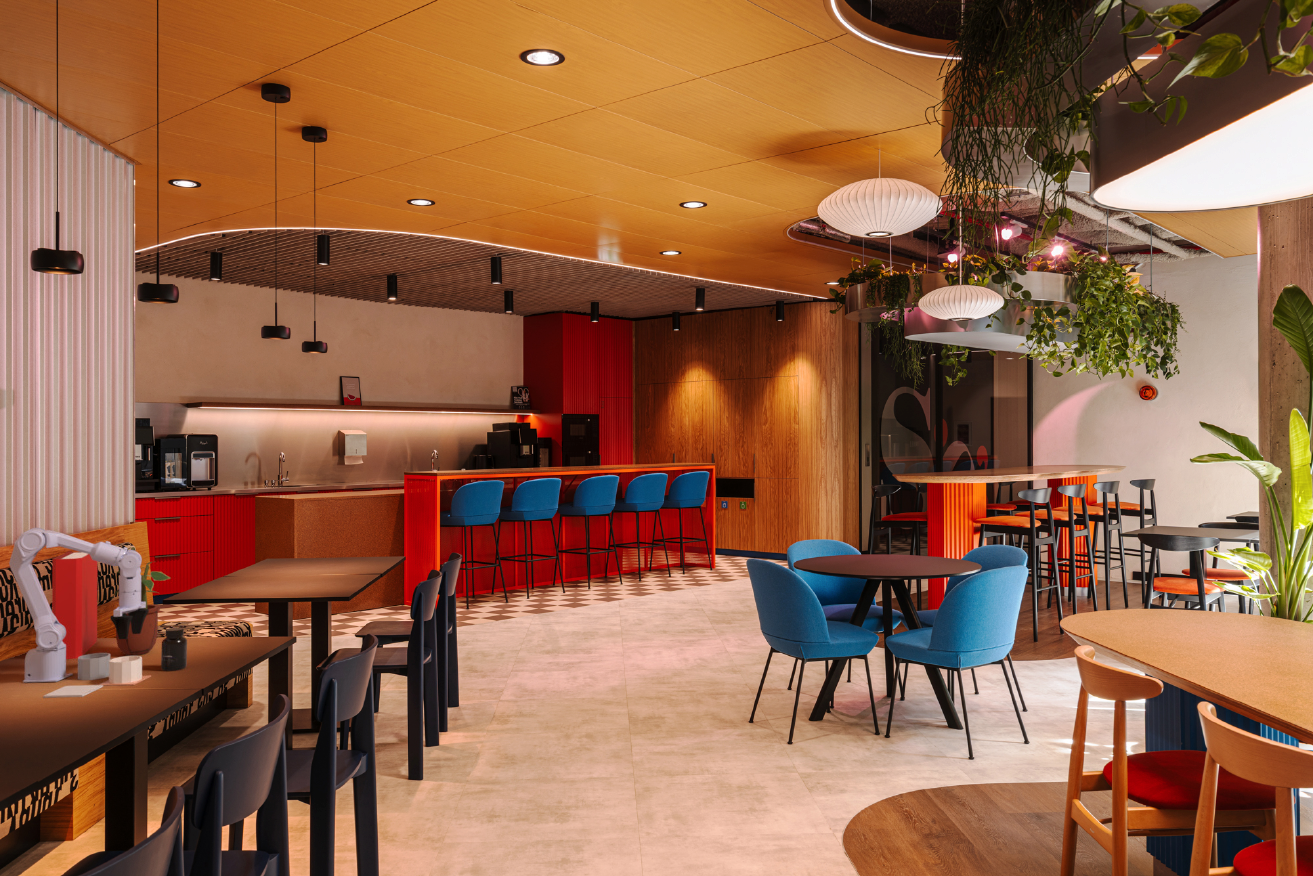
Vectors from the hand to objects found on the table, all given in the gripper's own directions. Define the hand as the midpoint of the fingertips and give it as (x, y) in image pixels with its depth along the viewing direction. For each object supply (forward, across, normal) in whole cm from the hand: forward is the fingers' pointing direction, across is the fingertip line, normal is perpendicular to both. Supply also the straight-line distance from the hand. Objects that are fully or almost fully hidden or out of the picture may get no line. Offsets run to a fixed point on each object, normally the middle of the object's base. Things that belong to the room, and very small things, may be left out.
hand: (129, 636), depth 264 cm
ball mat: (+10, -23, +3) cm, 25 cm away
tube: (+10, -12, -5) cm, 17 cm away
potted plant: (+11, +26, +11) cm, 30 cm away
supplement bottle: (+11, +2, -12) cm, 16 cm away
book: (+11, +30, +33) cm, 46 cm away
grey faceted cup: (+10, -6, +7) cm, 14 cm away
